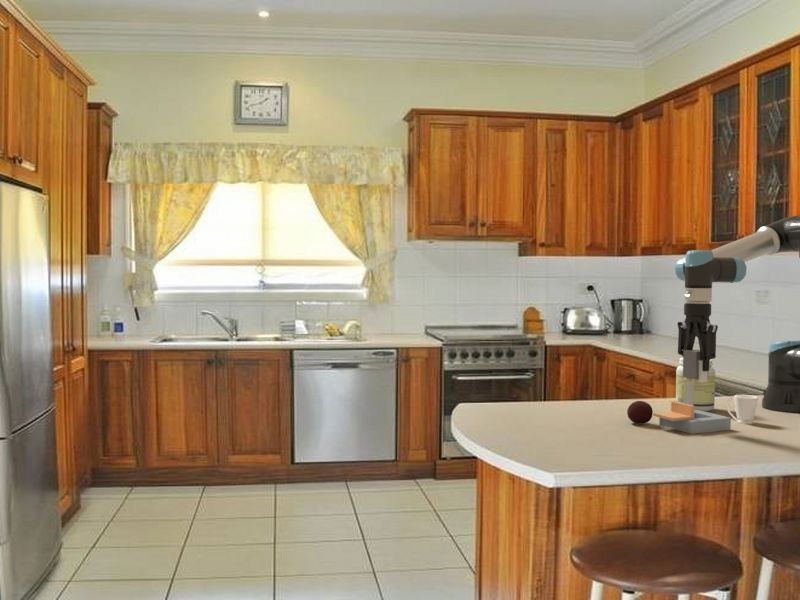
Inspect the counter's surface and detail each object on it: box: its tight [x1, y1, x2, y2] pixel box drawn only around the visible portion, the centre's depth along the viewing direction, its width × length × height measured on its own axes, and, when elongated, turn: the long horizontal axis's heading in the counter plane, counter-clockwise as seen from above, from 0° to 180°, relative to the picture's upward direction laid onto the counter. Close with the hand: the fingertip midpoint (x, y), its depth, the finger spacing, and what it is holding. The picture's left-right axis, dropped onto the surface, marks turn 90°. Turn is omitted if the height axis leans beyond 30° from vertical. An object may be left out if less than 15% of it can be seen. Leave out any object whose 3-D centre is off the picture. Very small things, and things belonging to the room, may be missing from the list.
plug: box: [682, 349, 709, 383], centre depth 227 cm, size 5×5×9 cm
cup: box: [726, 394, 759, 425], centre depth 237 cm, size 7×10×8 cm
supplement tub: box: [675, 357, 716, 412], centre depth 257 cm, size 12×12×17 cm
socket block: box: [659, 410, 732, 435], centre depth 228 cm, size 15×13×4 cm
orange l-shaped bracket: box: [652, 400, 695, 421], centre depth 225 cm, size 8×8×4 cm
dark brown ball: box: [626, 400, 654, 425], centre depth 232 cm, size 7×8×7 cm
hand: (695, 380), depth 228 cm, fingers closed on plug, 5 cm apart
